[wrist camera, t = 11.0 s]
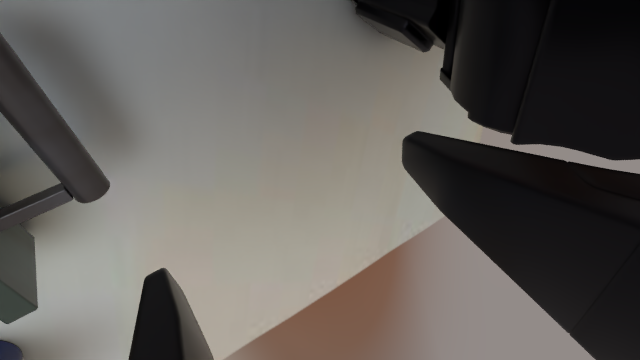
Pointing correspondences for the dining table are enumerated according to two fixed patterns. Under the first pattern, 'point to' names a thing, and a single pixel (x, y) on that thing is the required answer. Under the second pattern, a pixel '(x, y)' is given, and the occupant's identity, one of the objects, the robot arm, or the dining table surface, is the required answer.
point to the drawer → (70, 169)
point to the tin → (9, 351)
